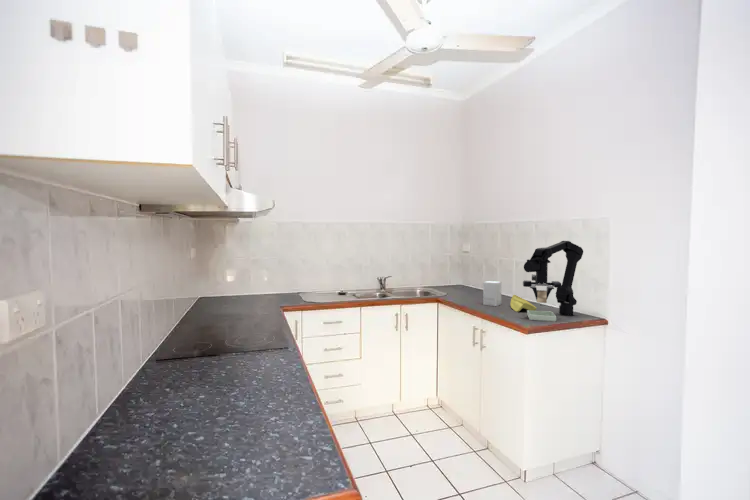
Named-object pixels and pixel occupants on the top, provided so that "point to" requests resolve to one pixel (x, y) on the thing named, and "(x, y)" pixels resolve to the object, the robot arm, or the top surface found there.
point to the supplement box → (492, 293)
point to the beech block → (541, 296)
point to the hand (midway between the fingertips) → (541, 299)
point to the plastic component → (521, 304)
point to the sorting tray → (541, 315)
